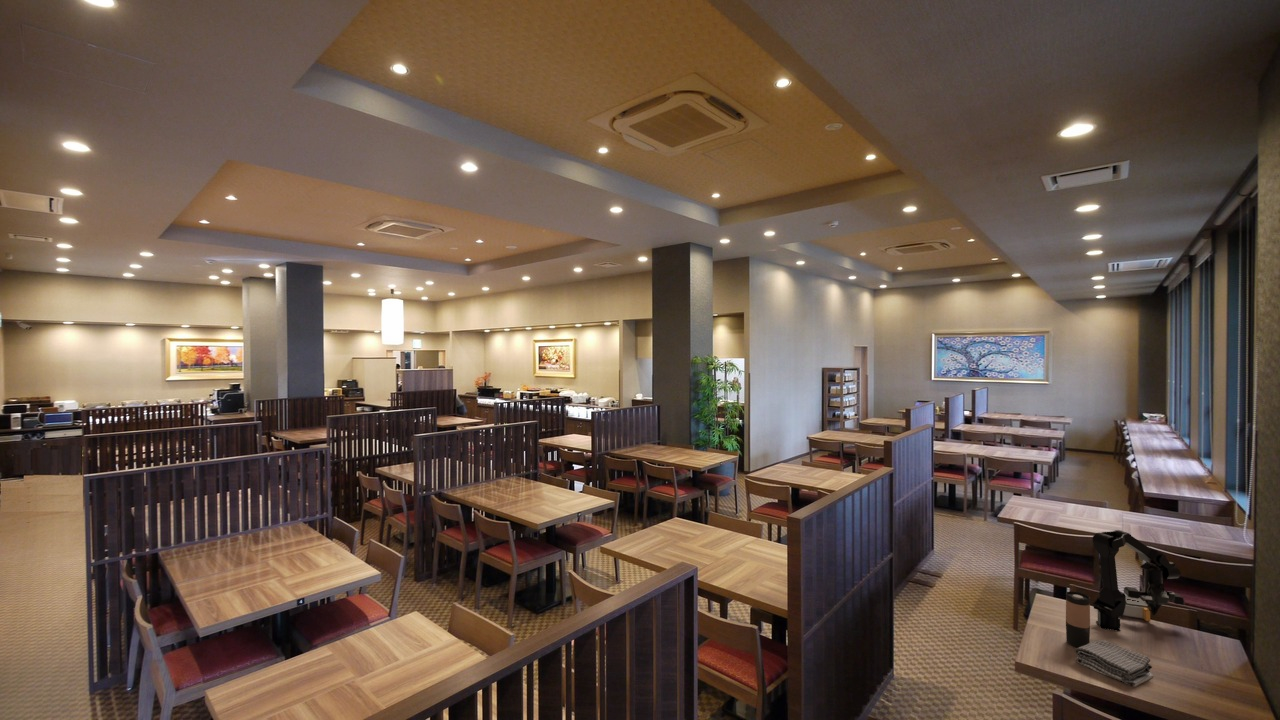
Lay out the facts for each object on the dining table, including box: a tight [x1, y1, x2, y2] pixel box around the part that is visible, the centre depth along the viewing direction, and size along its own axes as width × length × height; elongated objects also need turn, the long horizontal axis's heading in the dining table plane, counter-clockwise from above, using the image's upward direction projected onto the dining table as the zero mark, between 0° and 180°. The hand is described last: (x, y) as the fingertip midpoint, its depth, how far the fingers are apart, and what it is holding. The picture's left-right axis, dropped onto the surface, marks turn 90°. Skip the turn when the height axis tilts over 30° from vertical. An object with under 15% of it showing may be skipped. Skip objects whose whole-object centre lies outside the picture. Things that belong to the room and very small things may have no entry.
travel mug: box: [1065, 590, 1091, 649], centre depth 219 cm, size 8×8×20 cm
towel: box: [1074, 639, 1154, 688], centre depth 201 cm, size 15×18×8 cm
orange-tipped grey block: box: [1105, 594, 1149, 620], centre depth 247 cm, size 15×10×7 cm, turn 67°
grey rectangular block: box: [1123, 604, 1151, 622], centre depth 240 cm, size 8×4×5 cm, turn 67°
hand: (1153, 615), depth 237 cm, fingers closed
